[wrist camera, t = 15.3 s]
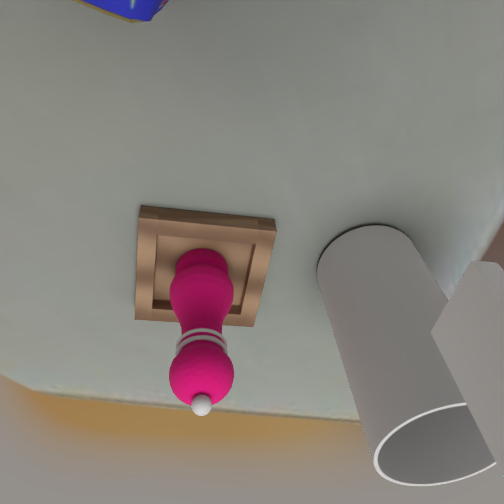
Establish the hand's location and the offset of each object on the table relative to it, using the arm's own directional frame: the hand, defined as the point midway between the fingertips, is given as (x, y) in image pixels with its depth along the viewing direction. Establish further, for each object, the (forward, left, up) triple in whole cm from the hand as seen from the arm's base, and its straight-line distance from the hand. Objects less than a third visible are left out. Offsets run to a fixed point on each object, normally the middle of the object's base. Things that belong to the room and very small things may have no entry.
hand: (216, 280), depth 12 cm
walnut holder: (+28, +3, -36) cm, 45 cm away
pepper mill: (+27, +3, -35) cm, 45 cm away
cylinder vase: (+25, +23, -36) cm, 50 cm away
